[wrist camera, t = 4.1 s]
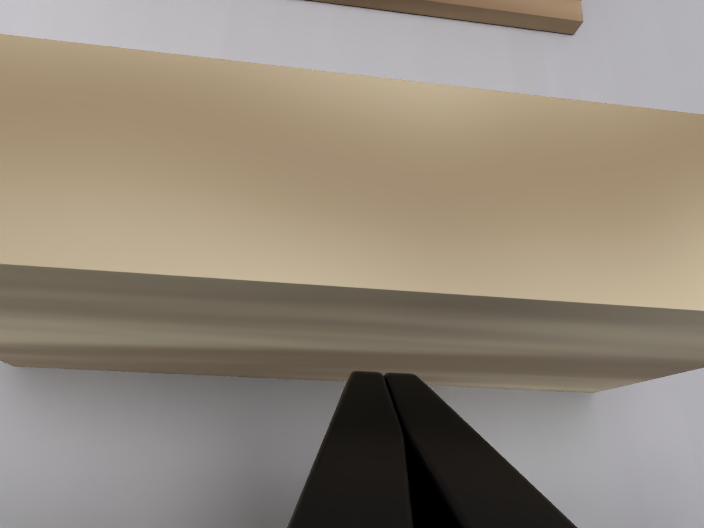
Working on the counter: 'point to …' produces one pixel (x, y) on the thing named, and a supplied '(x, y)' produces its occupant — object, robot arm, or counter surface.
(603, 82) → the counter surface
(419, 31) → the counter surface
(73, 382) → the counter surface
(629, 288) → the oak plank
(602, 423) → the counter surface
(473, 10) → the wooden molding strip
